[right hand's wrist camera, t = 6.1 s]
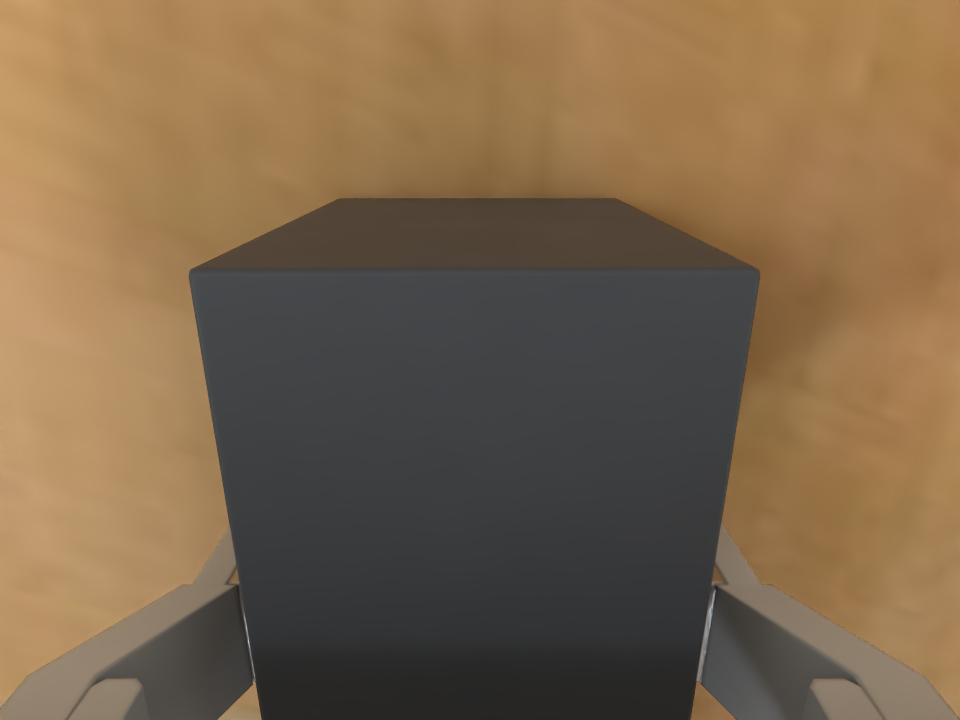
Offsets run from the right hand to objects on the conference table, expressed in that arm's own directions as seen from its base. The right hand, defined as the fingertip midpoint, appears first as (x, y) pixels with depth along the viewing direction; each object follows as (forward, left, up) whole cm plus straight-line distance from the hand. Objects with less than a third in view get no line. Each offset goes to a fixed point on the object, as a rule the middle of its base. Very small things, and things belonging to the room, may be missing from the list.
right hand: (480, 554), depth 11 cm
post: (+24, -11, -3) cm, 26 cm away
